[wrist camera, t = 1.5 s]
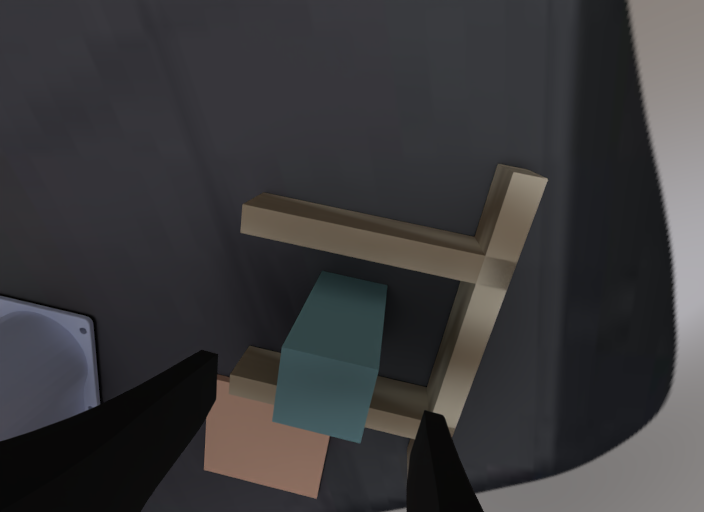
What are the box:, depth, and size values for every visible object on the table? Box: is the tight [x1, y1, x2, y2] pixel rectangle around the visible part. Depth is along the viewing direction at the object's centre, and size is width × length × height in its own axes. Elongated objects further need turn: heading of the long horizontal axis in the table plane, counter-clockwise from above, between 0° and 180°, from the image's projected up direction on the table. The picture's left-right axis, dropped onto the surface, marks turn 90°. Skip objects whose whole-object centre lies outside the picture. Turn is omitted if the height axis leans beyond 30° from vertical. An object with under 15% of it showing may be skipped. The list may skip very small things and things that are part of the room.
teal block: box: [272, 271, 388, 443], centre depth 20 cm, size 4×4×8 cm
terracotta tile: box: [204, 374, 330, 499], centre depth 28 cm, size 9×9×1 cm
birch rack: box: [229, 164, 548, 479], centre depth 22 cm, size 20×14×3 cm
